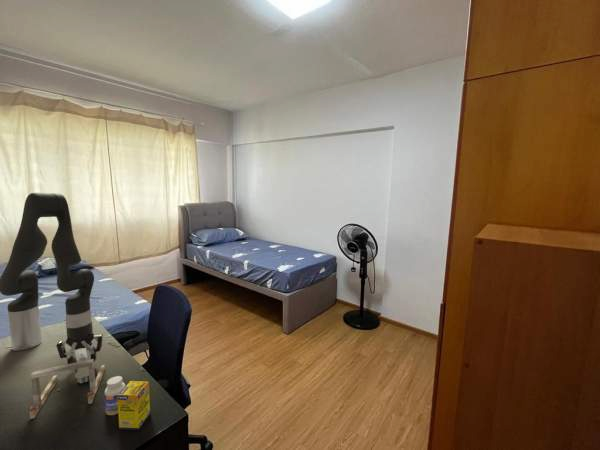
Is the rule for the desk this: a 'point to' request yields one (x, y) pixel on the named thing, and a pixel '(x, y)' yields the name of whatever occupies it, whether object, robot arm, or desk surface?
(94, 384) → the tan holder stand
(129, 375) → the desk surface
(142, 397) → the supplement box
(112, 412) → the pill bottle
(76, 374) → the white electric toothbrush
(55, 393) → the desk surface
